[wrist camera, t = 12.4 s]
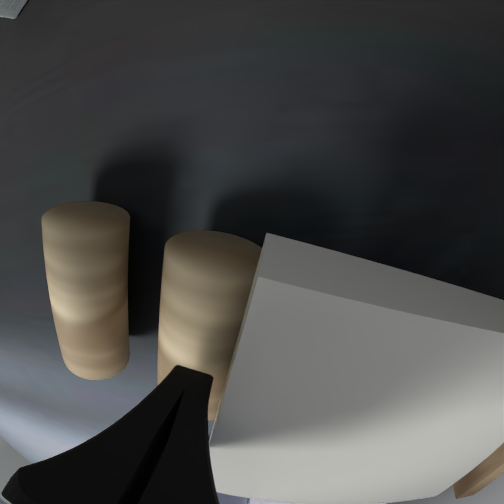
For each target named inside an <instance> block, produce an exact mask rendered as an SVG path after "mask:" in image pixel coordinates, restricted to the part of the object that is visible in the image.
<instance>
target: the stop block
mask: <svg viewBox="0 0 504 504" xmlns="http://www.w3.org/2000/svg"><path fill="white" fill-rule="evenodd" d="M502 473H504V443H503V444H502V445H501V446H500V447H498V448H497V449H496V450H495V451H494V452H493V453H492V454H491V455H489V456H488V457H487V458H486V459H485V460H484V461H482V462H481V463H480V464H479V465H478V466H476V467H475V468H474V469H473V470H471V471H470V472H469V473H467V474H466V475H465V476H463V477H462V478H461V479H459V480H458V481H457V482H455V483H454V484H453V487H454V492H455V497H456V499H458V498H462V497H467V496H471V495H474V494H475V493H477V492H478V491H480V490H481V489H483V488H484V487H485V486H487V485H488V484H489V483H491V482H492V481H493V480H495V479H496V478H497V477H499V476H500V475H501V474H502Z"/></svg>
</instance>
